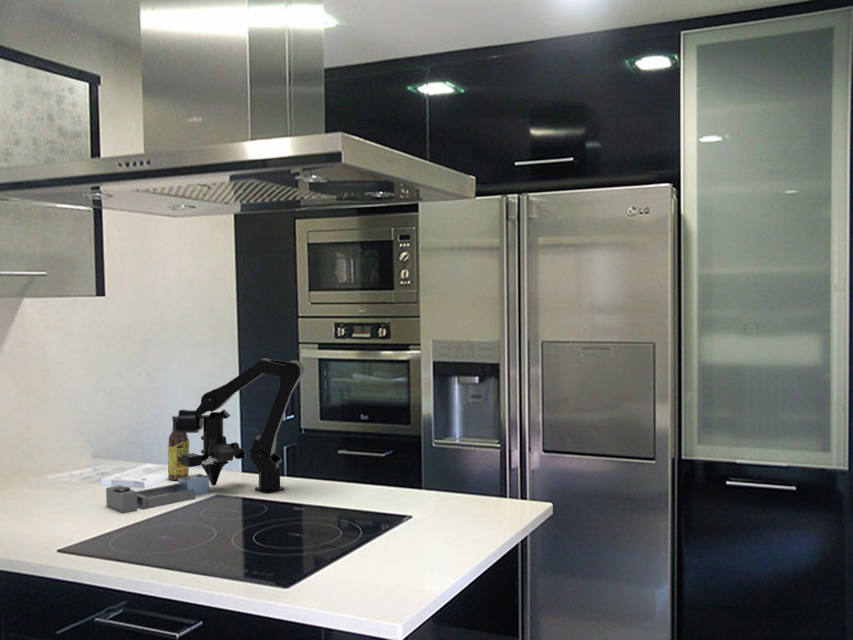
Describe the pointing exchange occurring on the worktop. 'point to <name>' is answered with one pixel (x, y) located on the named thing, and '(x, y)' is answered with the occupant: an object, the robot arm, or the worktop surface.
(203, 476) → the block
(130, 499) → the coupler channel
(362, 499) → the worktop surface
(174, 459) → the sauce bottle
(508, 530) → the worktop surface
